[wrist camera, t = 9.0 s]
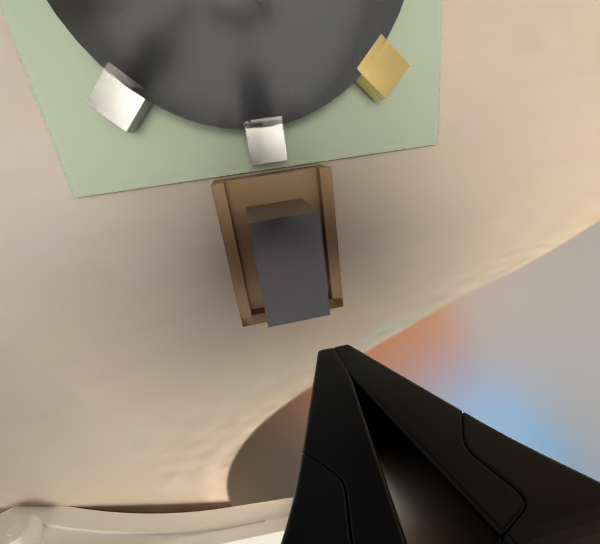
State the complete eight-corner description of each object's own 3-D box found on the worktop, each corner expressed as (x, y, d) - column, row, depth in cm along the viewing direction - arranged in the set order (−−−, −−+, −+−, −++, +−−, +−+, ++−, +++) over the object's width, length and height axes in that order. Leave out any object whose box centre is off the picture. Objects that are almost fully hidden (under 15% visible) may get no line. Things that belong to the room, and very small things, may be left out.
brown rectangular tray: (333, 291, 21) (343, 306, 19) (242, 309, 21) (243, 326, 19) (320, 165, 18) (330, 166, 16) (214, 180, 18) (210, 184, 16)
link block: (312, 282, 19) (330, 314, 15) (262, 292, 19) (268, 327, 15) (301, 198, 17) (319, 211, 14) (246, 206, 17) (248, 223, 13)
